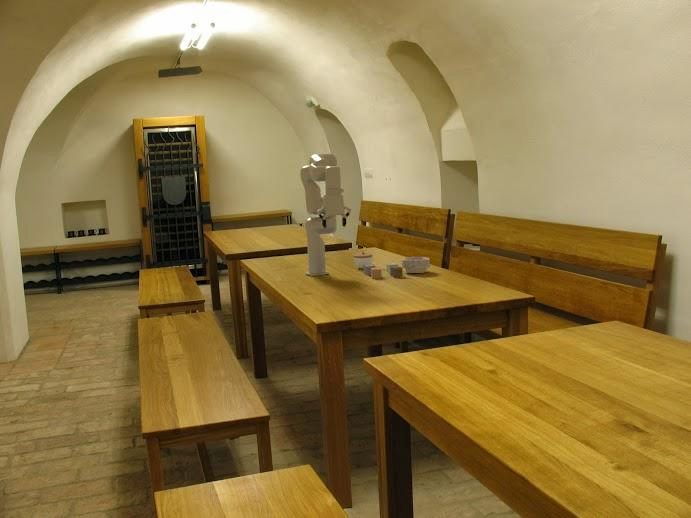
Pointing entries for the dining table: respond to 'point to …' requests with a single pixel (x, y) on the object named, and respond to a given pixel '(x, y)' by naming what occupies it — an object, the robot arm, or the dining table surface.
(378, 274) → the terracotta block
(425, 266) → the paper bowls
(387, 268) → the sage block
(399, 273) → the walnut block
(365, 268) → the slate block
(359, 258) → the lidded jar
